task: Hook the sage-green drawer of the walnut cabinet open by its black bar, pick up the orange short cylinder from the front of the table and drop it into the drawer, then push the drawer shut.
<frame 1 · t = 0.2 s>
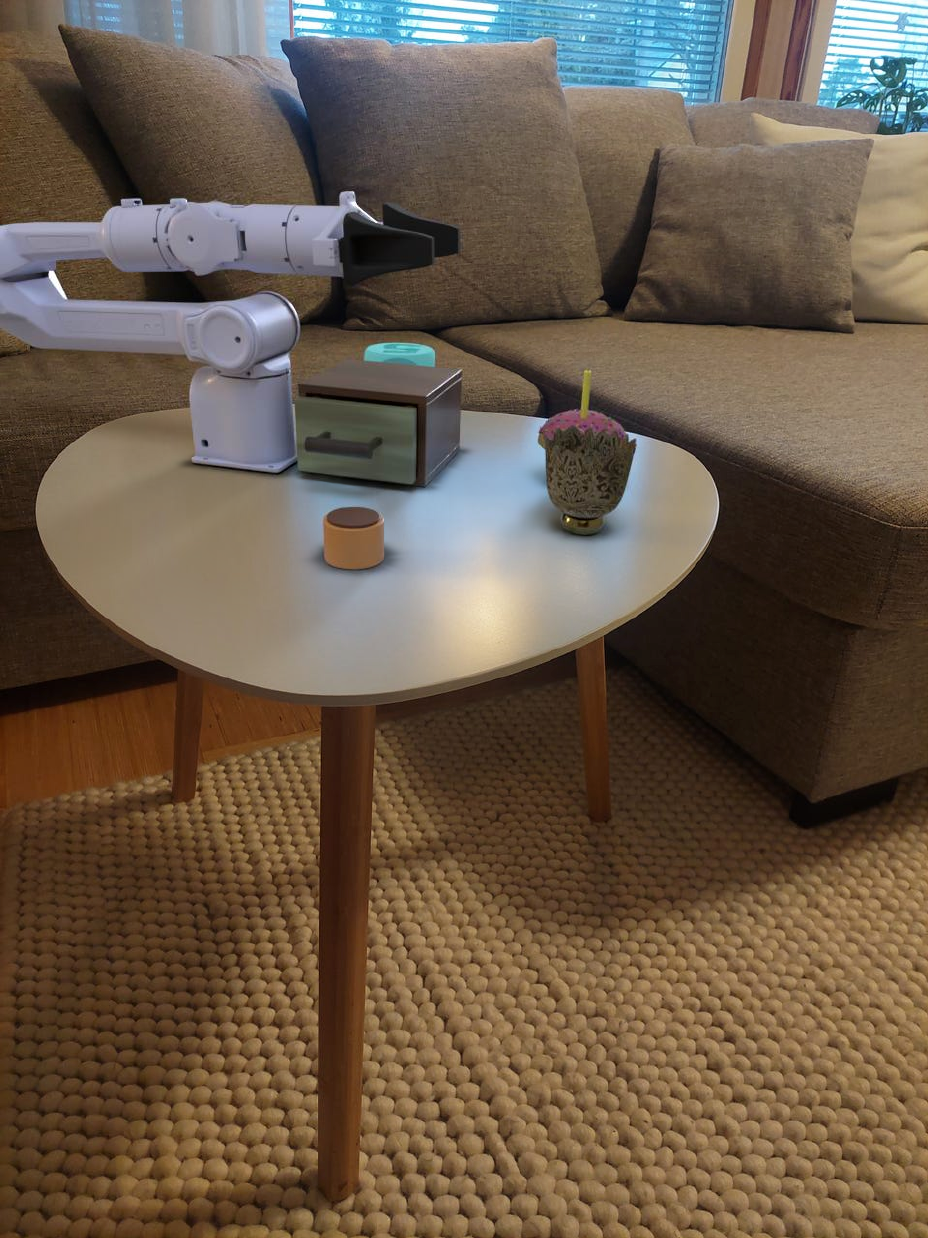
hand: (446, 245, 75), 21 cm above the table, tool horizontal, fingers open, 7 cm apart
cup: (580, 531, 75), on the table
cabinet: (384, 460, 90), on the table
cupcake: (577, 485, 85), on the table
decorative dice: (400, 418, 105), on the table
orange short cylinder: (354, 557, 68), on the table
drawer: (367, 431, 83), point 4 cm above the table, slide at 1.0 cm
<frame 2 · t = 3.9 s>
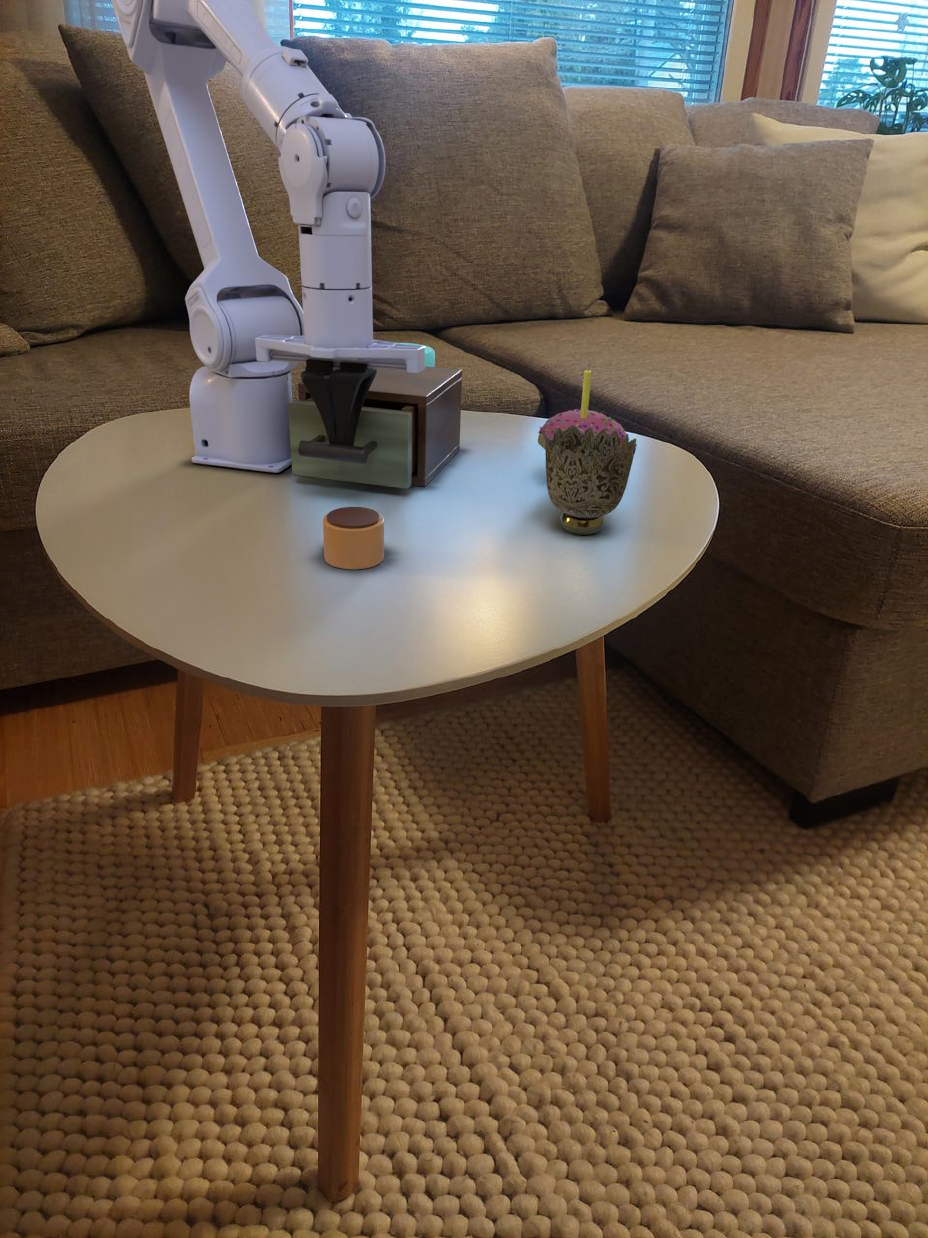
hand: (343, 449, 77), 5 cm above the table, tool pointing down, fingers closed, pressing on drawer
drawer: (362, 435, 82), point 4 cm above the table, slide at 2.3 cm, touching gripper
everything else where it was.
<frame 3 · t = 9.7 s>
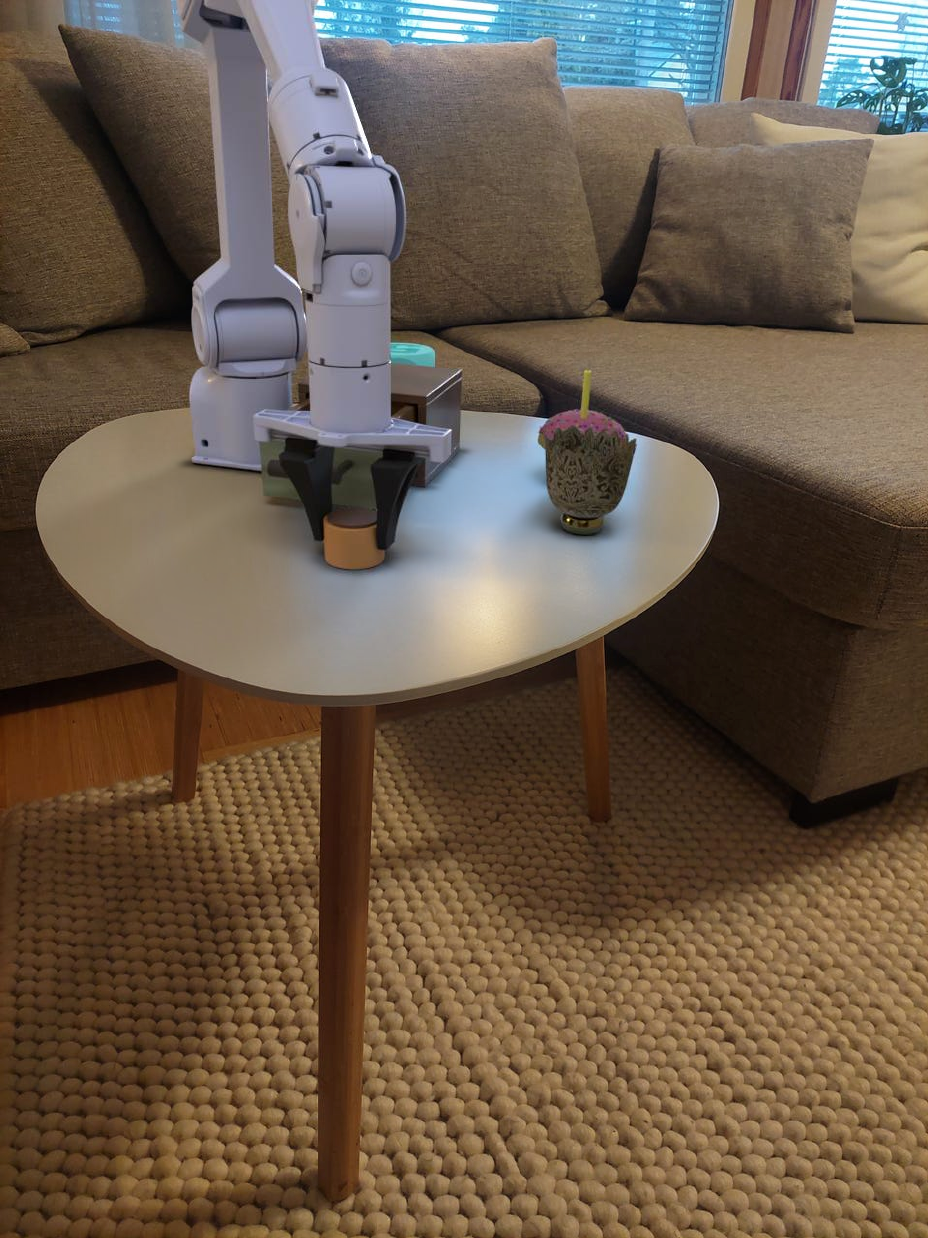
hand: (353, 540, 67), 1 cm above the table, tool pointing down, fingers closed on orange short cylinder, 4 cm apart
orange short cylinder: (354, 557, 68), on the table, touching gripper
drawer: (338, 452, 77), point 4 cm above the table, slide at 8.3 cm
everything else where it was.
when the fingers open (6 cm above the table, at t = 15.5 s): orange short cylinder stays where it is, resting on drawer.
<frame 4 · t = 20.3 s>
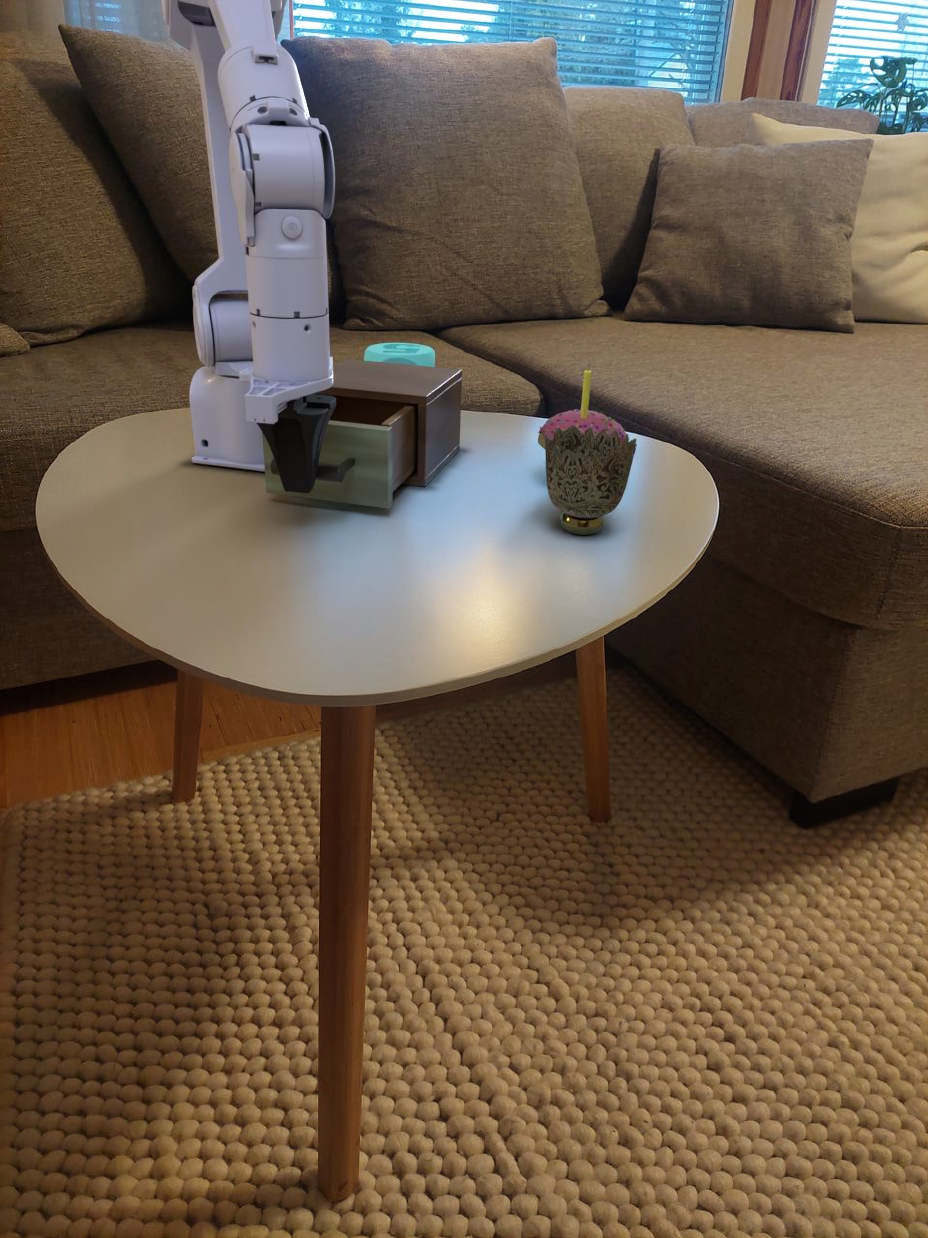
hand: (298, 489, 70), 4 cm above the table, tool pointing down, fingers closed
orange short cylinder: (352, 467, 81), point 2 cm above the table, touching drawer
drawer: (340, 451, 78), point 4 cm above the table, slide at 7.7 cm, touching orange short cylinder, gripper
everything else where it was.
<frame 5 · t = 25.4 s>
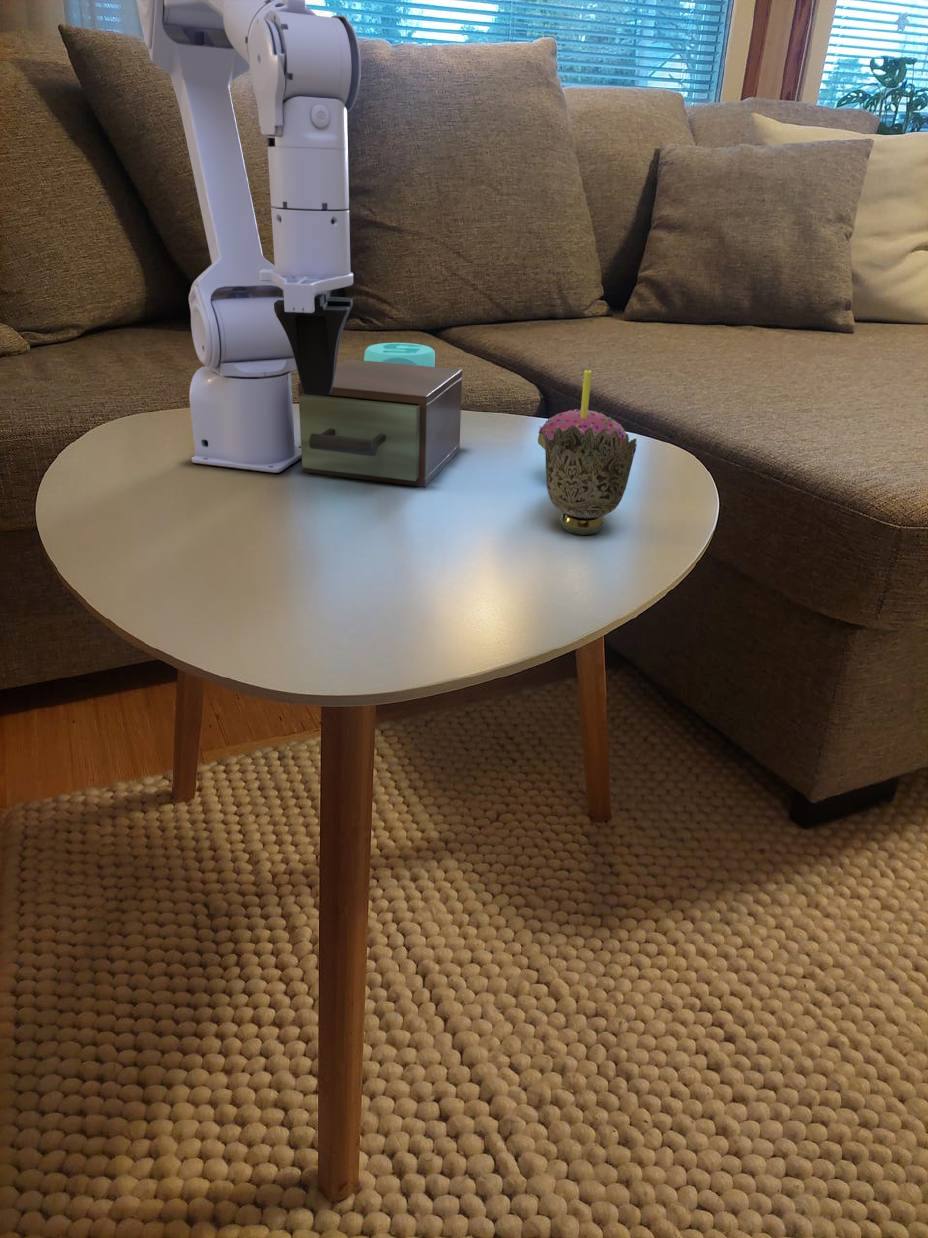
hand: (318, 392, 71), 10 cm above the table, tool pointing down, fingers closed
orange short cylinder: (380, 444, 88), point 2 cm above the table, touching drawer
drawer: (370, 429, 84), point 4 cm above the table, slide at 0.0 cm, touching cabinet, orange short cylinder
everything else where it was.
at the end: drawer pulled out 9.1 cm at the most during the clip, back to where it started at the end; orange short cylinder inside the target area in the cabinet (1.1 cm from its centre), point 2.0 cm above the cabinet's base; drawer slide at 0.0 cm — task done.
